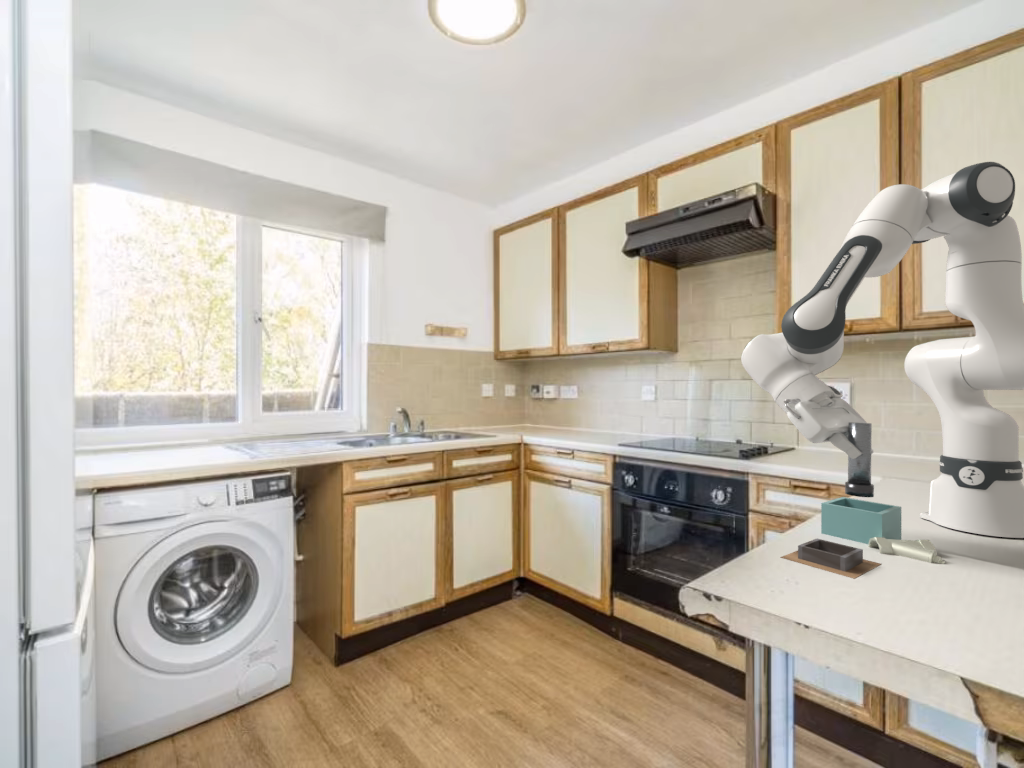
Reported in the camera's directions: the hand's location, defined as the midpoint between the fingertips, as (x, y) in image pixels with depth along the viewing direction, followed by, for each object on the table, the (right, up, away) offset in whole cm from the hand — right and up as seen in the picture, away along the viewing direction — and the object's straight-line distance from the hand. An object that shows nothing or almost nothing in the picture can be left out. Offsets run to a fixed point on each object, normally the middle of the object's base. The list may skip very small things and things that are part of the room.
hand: (864, 455), depth 86 cm
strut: (-1, -7, 0) cm, 7 cm away
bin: (0, -16, 0) cm, 16 cm away
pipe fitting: (0, -16, -10) cm, 19 cm away
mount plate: (-15, -16, -13) cm, 25 cm away
